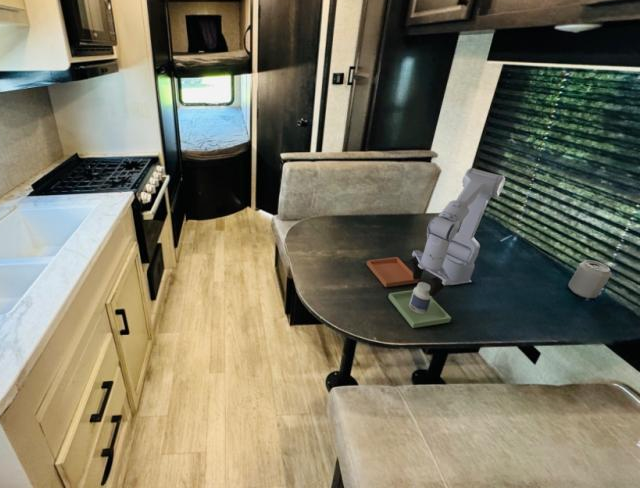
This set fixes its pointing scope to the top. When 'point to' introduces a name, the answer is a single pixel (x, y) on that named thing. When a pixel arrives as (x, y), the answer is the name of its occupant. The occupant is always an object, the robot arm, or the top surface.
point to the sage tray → (414, 319)
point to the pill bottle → (420, 298)
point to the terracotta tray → (391, 271)
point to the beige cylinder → (589, 279)
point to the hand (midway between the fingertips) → (424, 286)
